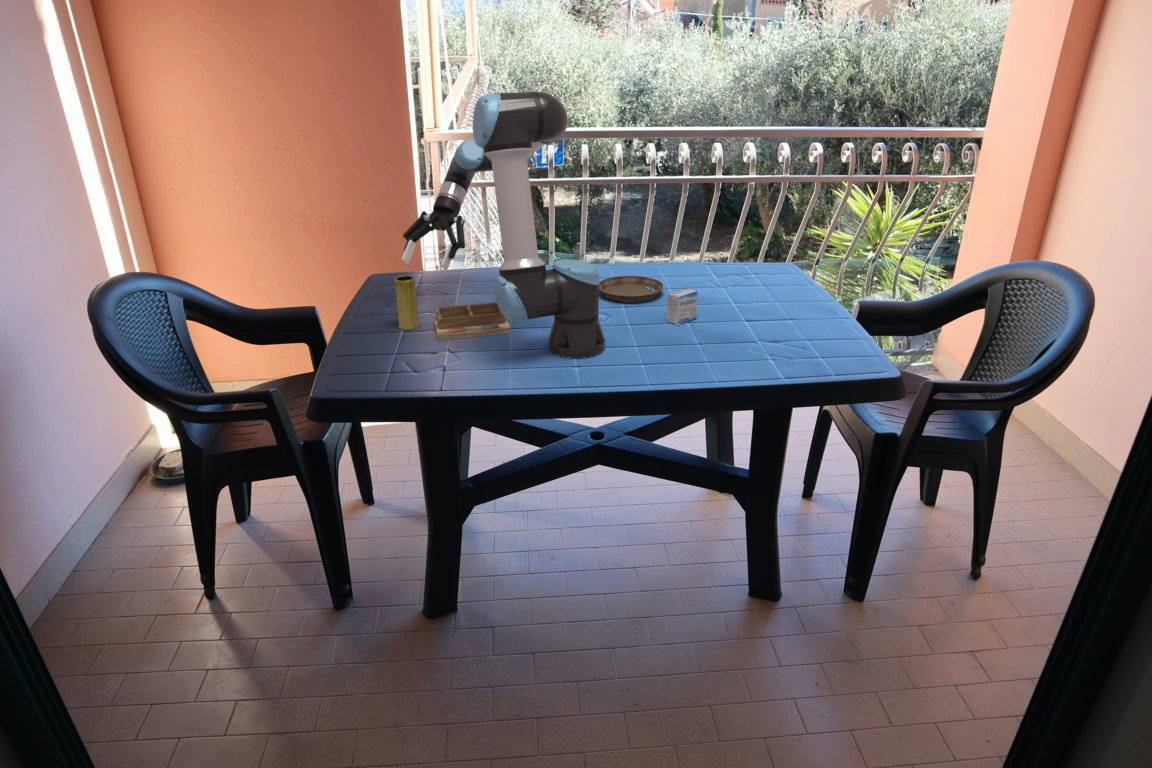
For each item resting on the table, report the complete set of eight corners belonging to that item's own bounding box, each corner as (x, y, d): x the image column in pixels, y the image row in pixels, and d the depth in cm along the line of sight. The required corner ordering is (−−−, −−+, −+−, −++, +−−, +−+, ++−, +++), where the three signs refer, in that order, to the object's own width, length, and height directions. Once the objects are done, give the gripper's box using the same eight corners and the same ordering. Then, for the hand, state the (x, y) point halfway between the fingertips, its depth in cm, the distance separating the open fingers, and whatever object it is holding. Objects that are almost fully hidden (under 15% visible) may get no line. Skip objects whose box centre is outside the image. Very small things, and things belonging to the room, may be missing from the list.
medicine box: (677, 326, 222) (678, 297, 218) (666, 321, 225) (667, 293, 221) (696, 319, 226) (698, 291, 223) (685, 315, 229) (686, 287, 226)
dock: (511, 332, 218) (510, 317, 216) (438, 340, 214) (437, 324, 212) (502, 315, 230) (501, 301, 228) (434, 322, 226) (432, 307, 224)
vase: (421, 321, 226) (417, 274, 220) (418, 329, 221) (413, 281, 215) (400, 322, 226) (395, 274, 220) (397, 330, 221) (391, 281, 215)
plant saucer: (597, 284, 257) (597, 274, 255) (661, 284, 256) (661, 274, 254) (596, 305, 238) (596, 295, 237) (665, 306, 237) (665, 295, 236)
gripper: (491, 212, 229) (466, 276, 223) (420, 204, 239) (395, 265, 233) (480, 197, 222) (454, 263, 217) (408, 190, 232) (382, 253, 227)
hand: (424, 264), depth 225 cm, fingers open, 13 cm apart
